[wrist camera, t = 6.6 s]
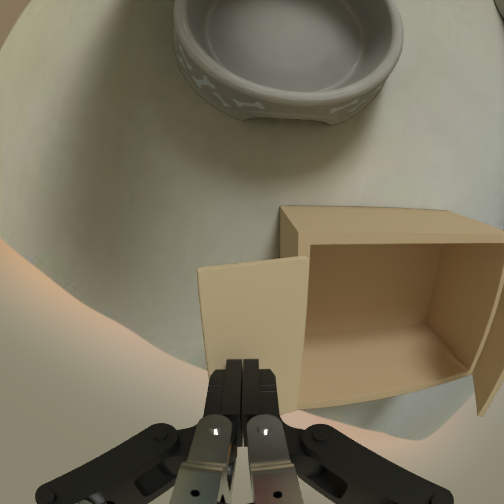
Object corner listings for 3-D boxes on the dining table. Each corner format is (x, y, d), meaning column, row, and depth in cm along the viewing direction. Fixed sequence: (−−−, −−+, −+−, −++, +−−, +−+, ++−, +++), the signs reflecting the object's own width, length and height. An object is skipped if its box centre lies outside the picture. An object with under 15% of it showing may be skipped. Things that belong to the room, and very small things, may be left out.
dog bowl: (183, -33, 16) (171, -64, 10) (377, -19, 16) (398, -45, 11) (169, 126, 21) (146, 116, 15) (393, 136, 21) (427, 131, 16)
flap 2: (516, 252, 13) (542, 278, 9) (477, 373, 16) (483, 416, 12) (510, 251, 13) (536, 277, 9) (472, 372, 16) (477, 416, 12)
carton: (446, 210, 22) (513, 234, 14) (426, 325, 26) (470, 375, 17) (279, 205, 22) (298, 232, 14) (277, 339, 26) (287, 411, 17)
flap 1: (309, 258, 13) (197, 271, 12) (296, 410, 16) (217, 428, 15) (304, 255, 13) (196, 267, 12) (293, 405, 16) (215, 422, 15)
